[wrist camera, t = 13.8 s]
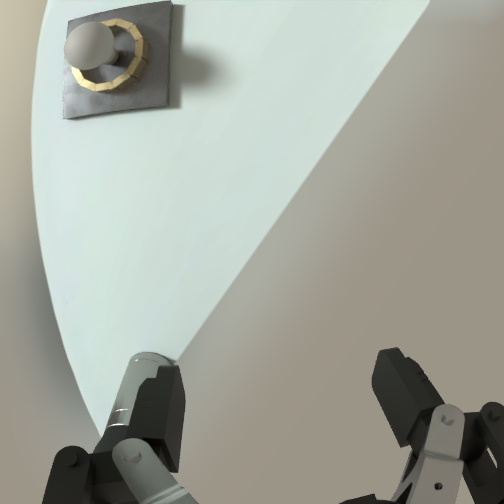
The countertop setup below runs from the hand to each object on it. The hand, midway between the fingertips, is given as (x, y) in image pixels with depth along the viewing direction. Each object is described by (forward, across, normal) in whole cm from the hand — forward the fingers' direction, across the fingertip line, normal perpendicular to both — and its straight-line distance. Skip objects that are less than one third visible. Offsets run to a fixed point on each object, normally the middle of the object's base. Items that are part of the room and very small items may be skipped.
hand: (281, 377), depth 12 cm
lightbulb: (+34, +18, -22) cm, 44 cm away
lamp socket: (+35, +18, -22) cm, 45 cm away
